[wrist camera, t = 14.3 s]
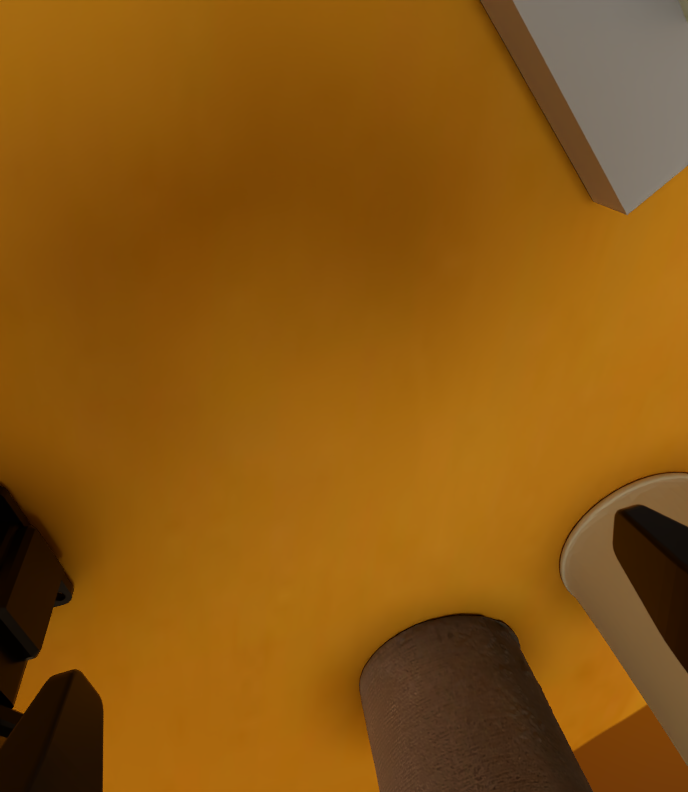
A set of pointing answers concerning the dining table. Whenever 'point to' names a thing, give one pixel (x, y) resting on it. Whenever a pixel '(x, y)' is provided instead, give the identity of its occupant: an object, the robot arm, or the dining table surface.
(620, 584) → the can
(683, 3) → the pale green square pillar
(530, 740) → the pillar candle
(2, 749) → the robot arm
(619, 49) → the tile
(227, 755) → the dining table surface
